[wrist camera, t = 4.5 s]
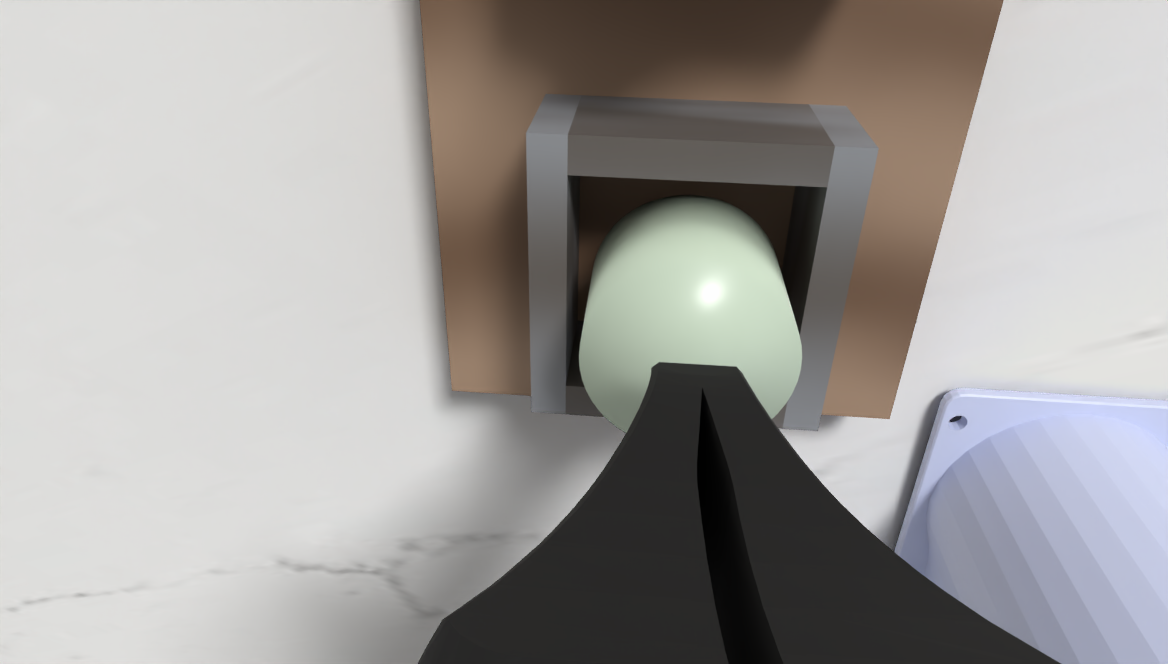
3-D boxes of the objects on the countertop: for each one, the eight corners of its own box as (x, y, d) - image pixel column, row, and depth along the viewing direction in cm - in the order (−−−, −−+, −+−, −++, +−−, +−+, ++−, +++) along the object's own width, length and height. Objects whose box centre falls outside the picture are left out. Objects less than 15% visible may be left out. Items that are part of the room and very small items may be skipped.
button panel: (872, 377, 23) (920, 495, 19) (467, 352, 24) (424, 460, 19) (1129, -650, 13) (1368, -914, 8) (399, -636, 13) (276, -872, 9)
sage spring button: (765, 365, 18) (783, 456, 15) (590, 354, 18) (577, 442, 15) (792, 199, 16) (819, 269, 13) (594, 190, 16) (580, 257, 13)
